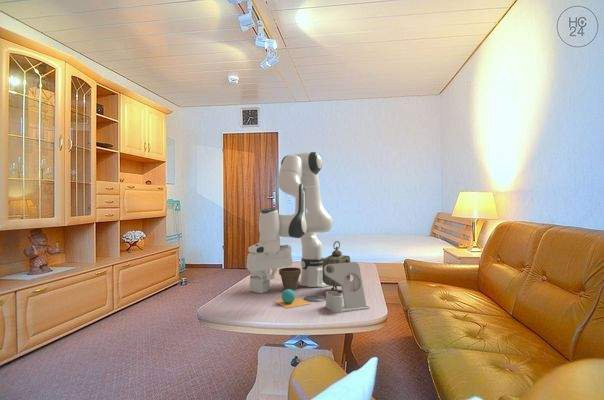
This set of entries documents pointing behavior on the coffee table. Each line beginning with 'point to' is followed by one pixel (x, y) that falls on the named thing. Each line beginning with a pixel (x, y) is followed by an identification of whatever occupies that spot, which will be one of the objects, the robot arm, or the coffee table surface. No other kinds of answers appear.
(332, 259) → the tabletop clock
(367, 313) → the coffee table surface
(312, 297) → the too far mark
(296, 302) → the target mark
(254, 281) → the supplement box
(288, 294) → the ball
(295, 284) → the flower pot
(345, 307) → the grey coffee machine
